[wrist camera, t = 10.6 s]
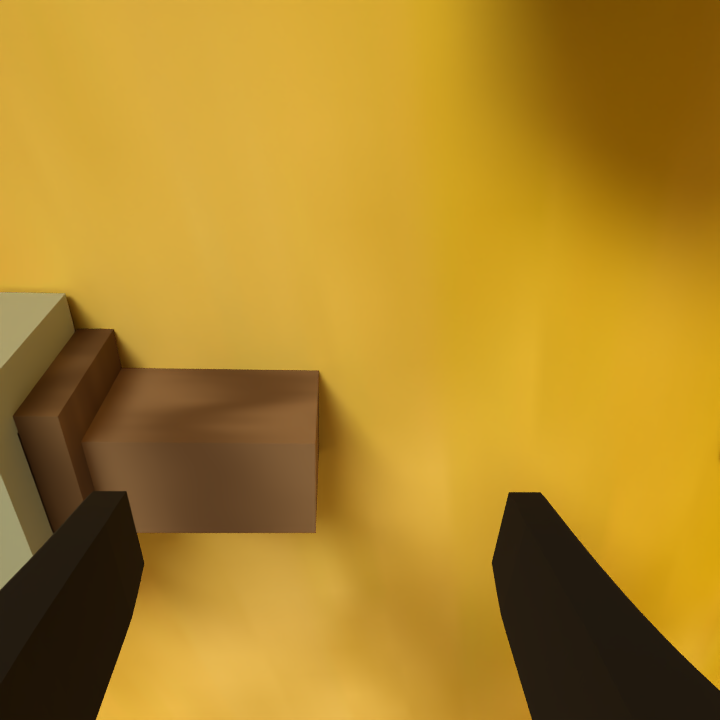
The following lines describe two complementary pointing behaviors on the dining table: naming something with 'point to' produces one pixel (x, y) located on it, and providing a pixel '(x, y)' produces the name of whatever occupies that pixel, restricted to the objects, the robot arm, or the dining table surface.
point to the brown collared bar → (174, 441)
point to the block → (3, 397)
